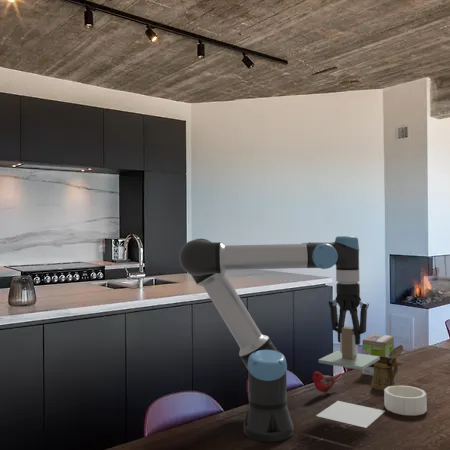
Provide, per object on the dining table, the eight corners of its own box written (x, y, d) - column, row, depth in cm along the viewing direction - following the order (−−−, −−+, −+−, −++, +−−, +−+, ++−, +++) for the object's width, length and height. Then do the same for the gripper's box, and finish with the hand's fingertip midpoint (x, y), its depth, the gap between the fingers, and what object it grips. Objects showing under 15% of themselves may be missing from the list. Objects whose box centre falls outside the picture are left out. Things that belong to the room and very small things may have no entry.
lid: (318, 362, 157) (317, 329, 158) (337, 353, 169) (337, 321, 170) (362, 370, 148) (361, 334, 148) (379, 359, 160) (379, 326, 160)
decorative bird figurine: (309, 399, 174) (308, 371, 174) (338, 388, 185) (337, 362, 185) (315, 401, 171) (315, 373, 172) (344, 390, 183) (344, 363, 183)
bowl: (379, 411, 161) (379, 393, 161) (392, 400, 171) (392, 383, 172) (419, 419, 153) (419, 400, 153) (430, 407, 164) (430, 389, 164)
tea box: (386, 378, 197) (385, 342, 198) (362, 374, 203) (361, 339, 203) (394, 368, 210) (393, 335, 210) (371, 365, 216) (370, 332, 216)
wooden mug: (394, 395, 176) (393, 346, 176) (366, 386, 188) (365, 339, 188) (410, 391, 180) (409, 343, 181) (382, 382, 192) (381, 337, 192)
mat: (315, 417, 157) (315, 415, 157) (337, 402, 170) (337, 400, 170) (366, 429, 147) (366, 427, 147) (385, 412, 160) (385, 410, 160)
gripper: (376, 282, 157) (377, 354, 157) (329, 280, 167) (331, 347, 167) (367, 284, 151) (369, 359, 151) (319, 282, 161) (321, 352, 161)
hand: (349, 353), depth 159 cm, fingers closed on lid, 3 cm apart
